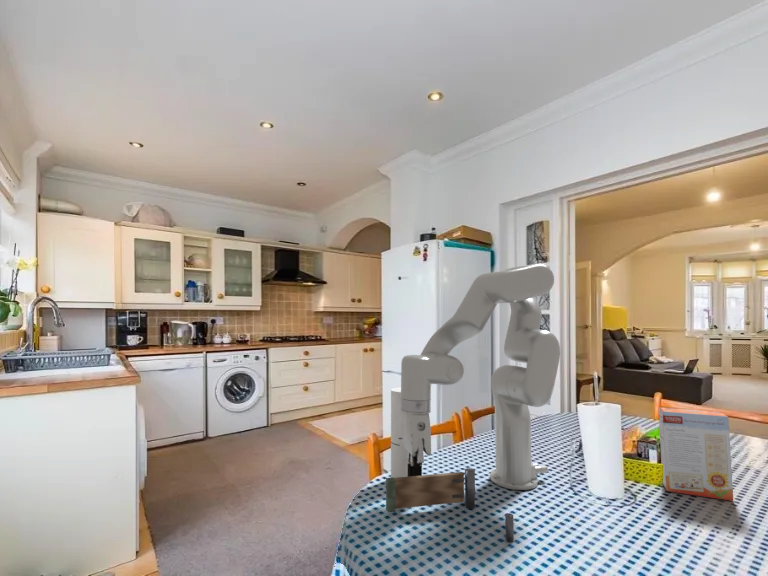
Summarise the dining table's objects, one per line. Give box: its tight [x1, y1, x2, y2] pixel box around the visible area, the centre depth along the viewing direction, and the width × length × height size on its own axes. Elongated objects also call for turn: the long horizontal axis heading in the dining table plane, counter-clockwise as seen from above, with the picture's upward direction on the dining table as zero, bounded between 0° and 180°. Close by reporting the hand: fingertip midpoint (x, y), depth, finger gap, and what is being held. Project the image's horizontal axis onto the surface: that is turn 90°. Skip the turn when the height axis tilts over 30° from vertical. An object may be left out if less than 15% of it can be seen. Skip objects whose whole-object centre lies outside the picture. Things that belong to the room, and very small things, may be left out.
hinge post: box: [464, 467, 476, 510], centre depth 96 cm, size 2×2×8 cm
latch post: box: [504, 512, 515, 544], centre depth 81 cm, size 2×2×5 cm
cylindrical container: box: [390, 386, 408, 478], centre depth 110 cm, size 7×7×25 cm
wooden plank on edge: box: [385, 471, 465, 514], centre depth 93 cm, size 19×2×7 cm, turn 102°
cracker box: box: [658, 406, 734, 502], centre depth 104 cm, size 14×6×21 cm, turn 65°
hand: (414, 480), depth 98 cm, fingers closed
